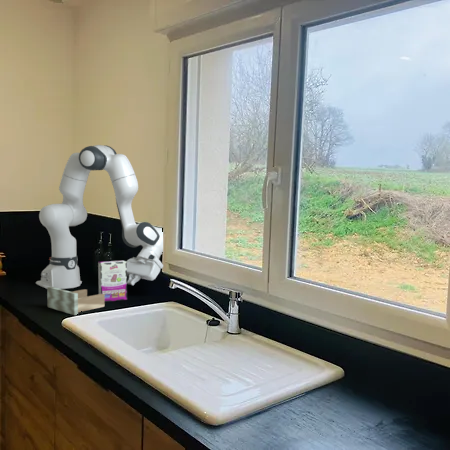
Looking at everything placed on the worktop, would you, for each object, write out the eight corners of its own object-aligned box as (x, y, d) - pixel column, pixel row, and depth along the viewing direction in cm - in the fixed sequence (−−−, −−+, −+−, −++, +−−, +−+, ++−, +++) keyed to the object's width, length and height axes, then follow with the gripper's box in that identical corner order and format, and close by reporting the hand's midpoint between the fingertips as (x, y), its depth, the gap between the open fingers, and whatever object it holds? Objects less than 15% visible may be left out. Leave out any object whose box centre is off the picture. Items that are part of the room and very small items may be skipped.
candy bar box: (123, 297, 220) (123, 260, 219) (127, 300, 216) (127, 261, 214) (97, 299, 215) (97, 261, 214) (100, 302, 211) (100, 263, 209)
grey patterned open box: (47, 306, 202) (47, 287, 201) (81, 300, 214) (81, 281, 213) (74, 315, 190) (74, 294, 190) (108, 307, 203) (108, 287, 202)
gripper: (127, 252, 234) (110, 276, 227) (158, 257, 221) (141, 283, 214) (135, 261, 237) (118, 284, 231) (166, 266, 225) (149, 291, 218)
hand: (129, 284), depth 222 cm, fingers closed
